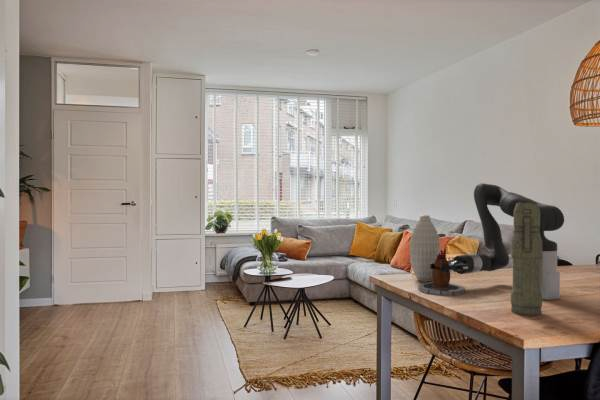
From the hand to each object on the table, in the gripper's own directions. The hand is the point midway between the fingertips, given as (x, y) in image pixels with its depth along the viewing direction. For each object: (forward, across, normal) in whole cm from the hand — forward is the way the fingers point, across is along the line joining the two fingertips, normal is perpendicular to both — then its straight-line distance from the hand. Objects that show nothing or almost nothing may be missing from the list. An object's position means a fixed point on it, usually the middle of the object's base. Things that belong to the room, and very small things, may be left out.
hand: (435, 267), depth 183 cm
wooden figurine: (-3, 0, +8) cm, 9 cm away
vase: (-12, -20, +10) cm, 25 cm away
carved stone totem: (-1, +38, +9) cm, 39 cm away
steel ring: (-2, 0, +9) cm, 10 cm away
